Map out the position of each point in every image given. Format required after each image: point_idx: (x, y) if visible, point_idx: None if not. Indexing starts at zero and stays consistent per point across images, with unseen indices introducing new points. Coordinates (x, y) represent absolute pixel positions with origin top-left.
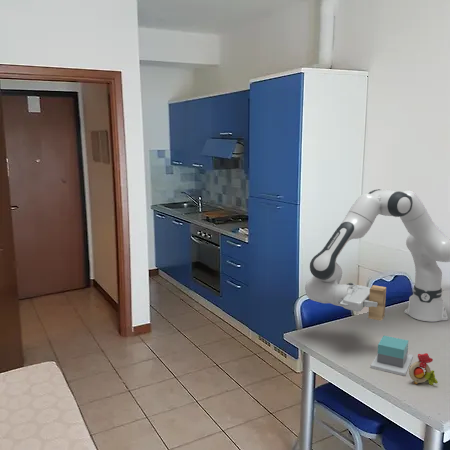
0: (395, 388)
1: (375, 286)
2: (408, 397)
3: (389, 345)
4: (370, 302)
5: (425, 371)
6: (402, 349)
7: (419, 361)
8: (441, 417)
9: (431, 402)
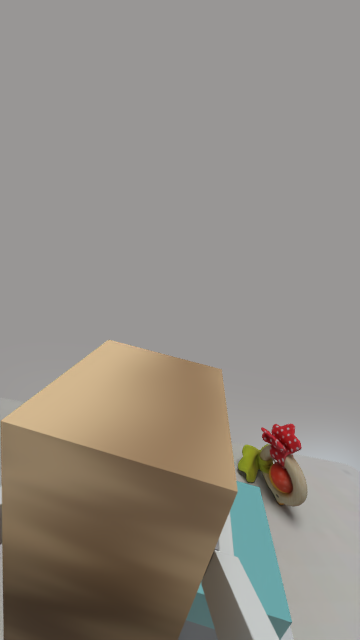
0: (352, 568)
1: (86, 400)
2: (356, 528)
3: (259, 545)
4: (252, 592)
5: (266, 460)
6: (259, 491)
7: (287, 455)
8: (353, 469)
9: (324, 478)
